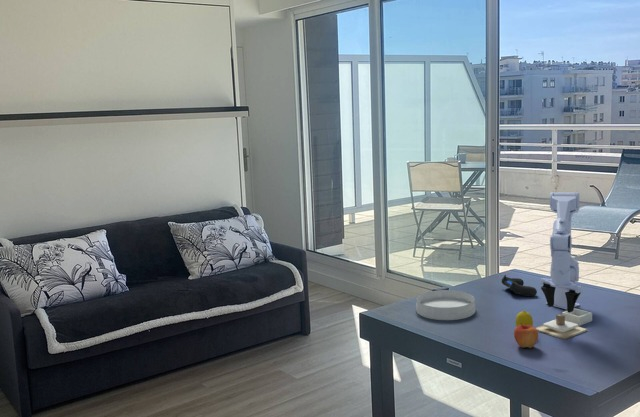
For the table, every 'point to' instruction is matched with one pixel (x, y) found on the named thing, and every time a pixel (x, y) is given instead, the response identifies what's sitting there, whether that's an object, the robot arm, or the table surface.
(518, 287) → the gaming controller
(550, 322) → the lid
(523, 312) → the lemon
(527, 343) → the apple
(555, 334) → the birch board
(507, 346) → the table surface
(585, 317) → the storage box
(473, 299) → the dish
